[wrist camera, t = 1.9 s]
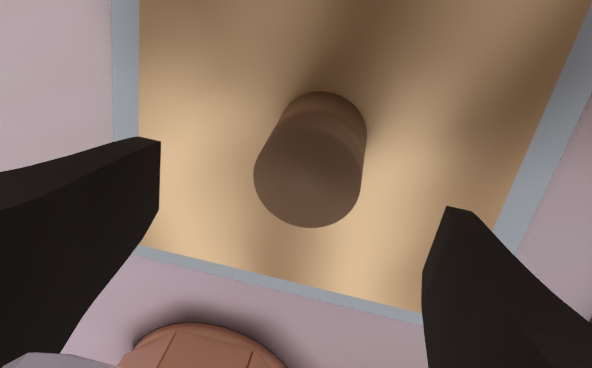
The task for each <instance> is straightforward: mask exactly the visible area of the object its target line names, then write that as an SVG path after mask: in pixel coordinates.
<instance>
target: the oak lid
mask: <svg viewBox="0 0 592 368" xmlns="http://www.w3.org/2000/svg"><path fill="white" fill-rule="evenodd" d="M591 3H592V0H140V10H139V137H144V138H148V139H153V140H157V141H161V162H160V195H159V211H158V213H157V214H156V216H155V218H154V220H153V222H152V224H151V226H150V227H149V229H148V231H147V232H146V234H145V236H144V237H143V239H142V241H141V242H140V243H139V245H143V246H147V247H151V248H156V249H160V250H164V251H168V252H172V253H176V254H180V255H184V256H188V257H192V258H197V259H201V260H205V261H209V262H213V263H217V264H221V265H225V266H229V267H233V268H238V269H242V270H246V271H250V272H254V273H258V274H262V275H266V276H270V277H274V278H279V279H283V280H287V281H291V282H295V283H299V284H303V285H307V286H311V287H315V288H320V289H324V290H328V291H332V292H336V293H340V294H344V295H348V296H352V297H356V298H361V299H365V300H369V301H373V302H377V303H381V304H385V305H389V306H393V307H397V308H402V309H406V310H410V311H414V312H418V313H422V309H421V288H422V270H423V268H424V265H425V262H426V259H427V257H428V254H429V251H430V249H431V246H432V243H433V240H434V238H435V235H436V232H437V230H438V227H439V224H440V221H441V219H442V216H443V213H444V211H445V208H446V206H451V207H455V208H460V209H464V210H469V211H472V212H473V213H474V214H476V215H477V216H478V217H479V218H480V219H481V220H482V221H483V223H484V224H485V225H486V226H487V227H488V228H489V229H490V230H491V231H493V228H494V226H495V224H496V221H497V219H498V217H499V215H500V212H501V210H502V208H503V205H504V203H505V201H506V198H507V196H508V194H509V192H510V189H511V187H512V185H513V182H514V180H515V178H516V175H517V173H518V171H519V169H520V166H521V164H522V162H523V159H524V157H525V155H526V152H527V150H528V148H529V146H530V143H531V141H532V139H533V136H534V134H535V132H536V129H537V127H538V125H539V123H540V120H541V118H542V116H543V113H544V111H545V109H546V106H547V104H548V102H549V99H550V97H551V95H552V93H553V90H554V88H555V86H556V83H557V81H558V79H559V76H560V74H561V72H562V70H563V67H564V65H565V63H566V60H567V58H568V56H569V53H570V51H571V49H572V47H573V44H574V42H575V40H576V37H577V35H578V33H579V30H580V28H581V26H582V24H583V21H584V19H585V17H586V14H587V12H588V10H589V7H590V5H591Z"/></svg>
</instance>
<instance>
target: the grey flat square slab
mask: <svg viewBox="0 0 592 368" xmlns="http://www.w3.org/2000/svg"><path fill="white" fill-rule="evenodd" d="M139 10H140V0H111V39H112V87H113V135H114V142H115V141H119V140H123V139H126V138H131V137H137V136H139ZM591 94H592V3H591V5H590V7H589V10H588V12H587V14H586V17H585V19H584V21H583V24H582V26H581V28H580V30H579V33H578V35H577V37H576V40H575V42H574V44H573V47H572V49H571V51H570V53H569V56H568V58H567V60H566V63H565V65H564V67H563V70H562V72H561V74H560V76H559V79H558V81H557V83H556V86H555V88H554V90H553V93H552V95H551V97H550V99H549V102H548V104H547V106H546V109H545V111H544V113H543V116H542V118H541V120H540V123H539V125H538V127H537V129H536V132H535V134H534V136H533V139H532V141H531V143H530V146H529V148H528V150H527V152H526V155H525V157H524V159H523V162H522V164H521V166H520V169H519V171H518V173H517V175H516V178H515V180H514V182H513V185H512V187H511V189H510V192H509V194H508V196H507V198H506V201H505V203H504V205H503V208H502V210H501V212H500V215H499V217H498V219H497V221H496V224H495V226H494V228H493V231H492V232H493V233H494V234H495V235H496V237H497V238H498V239H499V240H500V241H501V242H502V243H503V244H504V245H505V246H506V247H507V248H508V250H509V251H510V252H511V253H512V254H513V255H514V256H515V253H516V251H517V249H518V247H519V245H520V243H521V241H522V239H523V237H524V234H525V232H526V230H527V228H528V226H529V224H530V222H531V220H532V218H533V216H534V213H535V211H536V209H537V207H538V205H539V203H540V201H541V199H542V197H543V195H544V192H545V190H546V188H547V186H548V184H549V182H550V180H551V178H552V176H553V173H554V171H555V169H556V167H557V165H558V163H559V161H560V159H561V157H562V155H563V152H564V150H565V148H566V146H567V144H568V142H569V140H570V138H571V136H572V134H573V131H574V129H575V127H576V125H577V123H578V121H579V119H580V117H581V115H582V113H583V110H584V108H585V106H586V104H587V102H588V100H589V98H590V96H591ZM132 255H136V256H140V257H144V258H148V259H152V260H156V261H160V262H164V263H168V264H172V265H176V266H180V267H184V268H189V269H193V270H197V271H201V272H205V273H209V274H213V275H217V276H221V277H225V278H229V279H233V280H237V281H241V282H246V283H250V284H254V285H258V286H262V287H266V288H270V289H274V290H278V291H282V292H286V293H290V294H294V295H298V296H302V297H307V298H311V299H315V300H319V301H323V302H327V303H331V304H335V305H339V306H343V307H347V308H351V309H355V310H359V311H364V312H368V313H372V314H376V315H380V316H384V317H388V318H392V319H396V320H400V321H404V322H408V323H412V324H416V325H421V326H423V318H422V313H418V312H414V311H410V310H406V309H402V308H397V307H393V306H389V305H385V304H381V303H377V302H373V301H369V300H365V299H361V298H356V297H352V296H348V295H344V294H340V293H336V292H332V291H328V290H324V289H320V288H315V287H311V286H307V285H303V284H299V283H295V282H291V281H287V280H283V279H279V278H274V277H270V276H266V275H262V274H258V273H254V272H250V271H246V270H242V269H238V268H233V267H229V266H225V265H221V264H217V263H213V262H209V261H205V260H201V259H197V258H192V257H188V256H184V255H180V254H176V253H172V252H168V251H164V250H160V249H156V248H151V247H147V246H143V245H139V244H138V246H137V247H136V248H135V250H134V251H133V252H132Z"/></svg>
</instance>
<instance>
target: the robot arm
mask: <svg viewBox="0 0 592 368" xmlns="http://www.w3.org/2000/svg"><path fill="white" fill-rule="evenodd" d="M160 162H161V141H157V140H153V139H148V138H144V137H139V136H137V137H131V138H126V139H123V140H119V141H115V142H112V143H109V144H105V145H102V146H99V147H96V148H92V149H89V150H86V151H82V152H79V153H76V154H73V155H69V156H65V157H62V158H58V159H54V160H50V161H47V162H43V163H39V164H35V165H32V166H28V167H23V168H19V169H14V170H9V171H4V172H0V368H122V367H118V366H114V365H110V364H106V363H102V362H99V361H95V360H91V359H87V358H83V357H79V356H75V355H71V354H60V352H61V350H62V349H63V347H64V346H65V344H66V342H67V341H68V339H69V338H70V336H71V334H72V333H73V331H74V330H75V328H76V326H77V325H78V323H79V322H80V320H81V318H82V317H83V315H84V314H85V313H86V311H87V310H88V308H89V307H90V306H91V304H92V303H93V301H94V300H95V299H96V298H97V296H98V295H99V294H100V293H101V291H102V290H103V289H104V288H105V286H106V285H107V284H108V283H109V281H110V280H111V279H112V278H113V276H114V275H115V274H116V273H117V271H118V270H119V269H120V268H121V266H122V265H123V264H124V263H125V261H126V260H127V259H128V257H129V256H130V255H131V254H132V252H133V251H134V250H135V248H136V247H137V246H138V244H139V243H140V242H141V241H142V239H143V237H144V236H145V234H146V232H147V231H148V229H149V227H150V226H151V224H152V222H153V220H154V218H155V216H156V214H157V213H158V211H159V195H160ZM421 309H422V318H423V326H424V335H425V343H426V350H427V358H428V366H429V368H592V324H591V323H590V322H588V321H587V320H586V319H584V318H583V317H582V316H581V315H579V314H578V313H577V312H576V311H574V310H573V309H572V308H571V307H569V306H568V305H567V304H566V303H564V302H563V301H562V300H561V299H560V298H558V297H557V296H556V295H555V294H554V293H553V292H551V291H550V290H549V289H548V288H547V287H546V286H545V285H544V284H543V283H542V282H541V281H540V280H539V279H537V278H536V277H535V276H534V275H533V274H532V273H531V272H530V271H529V270H528V269H527V268H526V267H525V266H524V265H523V264H522V263H521V262H520V261H519V260H518V259H517V258H516V257H515V256H514V255H513V254H512V253H511V252H510V251H509V250H508V248H507V247H506V246H505V245H504V244H503V243H502V242H501V241H500V240H499V239H498V238H497V237H496V235H495V234H494V233H493V232H492V231H491V230H490V229H489V228H488V227H487V226H486V225H485V224H484V223H483V221H482V220H481V219H480V218H479V217H478V216H477V215H476V214H474V213H473V212H472V211H469V210H464V209H460V208H455V207H451V206H446V208H445V211H444V213H443V216H442V219H441V221H440V224H439V227H438V230H437V232H436V235H435V238H434V240H433V243H432V246H431V249H430V251H429V254H428V257H427V259H426V262H425V265H424V268H423V270H422V288H421Z"/></svg>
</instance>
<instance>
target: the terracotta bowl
mask: <svg viewBox="0 0 592 368" xmlns="http://www.w3.org/2000/svg"><path fill="white" fill-rule="evenodd" d="M118 367H122V368H286V367H285V366H284V365H283V364H282V362H281V361H280V360H279V359H278V358H277V357H276V356H275V355H274V354H272V353H271V352H270V351H269V350H267V349H266V348H265V347H263V346H262V345H260V344H259V343H257V342H256V341H254V340H252V339H250V338H248V337H247V336H245V335H243V334H240V333H238V332H235V331H233V330H230V329H226V328H223V327H220V326H215V325H210V324H202V323H179V324H172V325H168V326H164V327H161V328H159V329H156V330H154V331H152V332H151V333H149V334H147V335H146V336H145V337H144V338H142V339H141V340H140V341H139V343H138V344H137V345H136V346H135V348H134V350H133V351H132V352H130V353H128V354H126V355H124V356H123V358H122V360H121V361H120V363H119V365H118Z"/></svg>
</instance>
